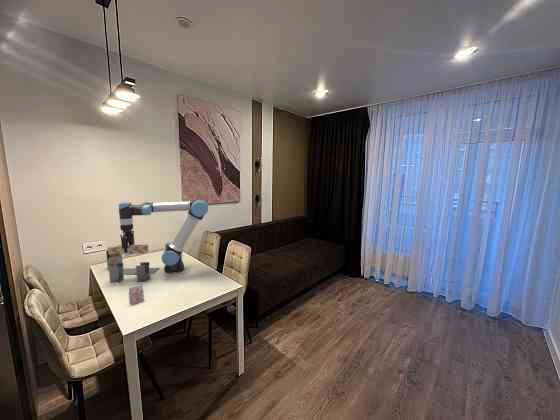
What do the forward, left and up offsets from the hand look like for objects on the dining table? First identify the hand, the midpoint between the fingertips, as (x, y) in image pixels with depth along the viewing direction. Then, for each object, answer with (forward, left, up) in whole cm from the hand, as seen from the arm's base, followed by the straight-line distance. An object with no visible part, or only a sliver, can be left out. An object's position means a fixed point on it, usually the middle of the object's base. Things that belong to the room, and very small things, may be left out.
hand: (129, 255), depth 162 cm
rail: (0, 0, +2) cm, 2 cm away
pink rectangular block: (-18, +30, -19) cm, 40 cm away
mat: (+3, -16, -19) cm, 25 cm away
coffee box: (+23, -24, -19) cm, 39 cm away
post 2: (-9, 0, -19) cm, 21 cm away
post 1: (+9, 0, -19) cm, 21 cm away
